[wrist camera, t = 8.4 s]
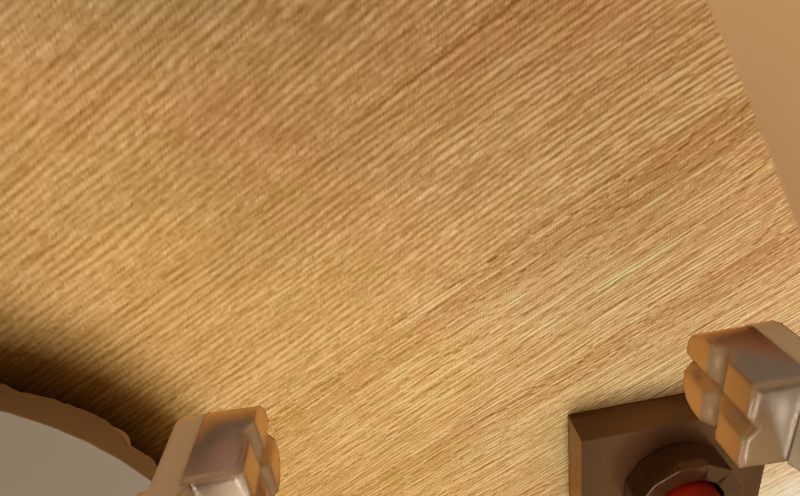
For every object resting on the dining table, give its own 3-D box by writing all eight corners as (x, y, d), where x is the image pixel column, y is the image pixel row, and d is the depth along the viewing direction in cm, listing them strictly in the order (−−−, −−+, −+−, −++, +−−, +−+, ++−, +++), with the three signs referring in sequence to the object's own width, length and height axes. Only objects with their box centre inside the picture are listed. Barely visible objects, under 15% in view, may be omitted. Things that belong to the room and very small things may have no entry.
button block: (752, 380, 33) (801, 426, 30) (732, 487, 38) (773, 539, 34) (567, 414, 33) (594, 465, 30) (569, 518, 38) (593, 573, 34)
